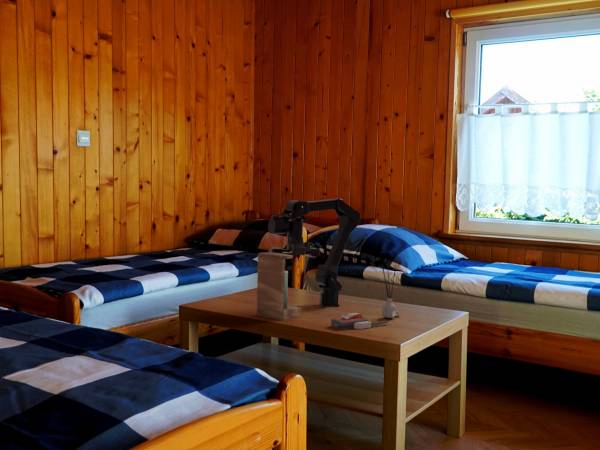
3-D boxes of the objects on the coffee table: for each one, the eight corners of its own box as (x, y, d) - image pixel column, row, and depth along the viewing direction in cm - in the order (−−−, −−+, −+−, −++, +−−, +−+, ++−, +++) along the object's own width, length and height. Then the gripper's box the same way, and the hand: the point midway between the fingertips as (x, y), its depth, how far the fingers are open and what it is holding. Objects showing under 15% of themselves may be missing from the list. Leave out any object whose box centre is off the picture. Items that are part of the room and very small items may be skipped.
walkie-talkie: (342, 333, 211) (389, 326, 222) (342, 319, 211) (389, 313, 222) (326, 327, 219) (373, 321, 229) (327, 314, 218) (373, 309, 229)
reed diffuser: (387, 321, 228) (388, 265, 227) (371, 317, 233) (373, 262, 231) (403, 317, 236) (405, 262, 234) (388, 314, 240) (390, 260, 239)
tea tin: (288, 306, 236) (289, 270, 235) (285, 308, 231) (286, 272, 230) (275, 305, 237) (275, 270, 236) (271, 308, 232) (272, 272, 231)
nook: (278, 310, 242) (279, 251, 240) (301, 315, 234) (303, 254, 232) (256, 314, 234) (257, 253, 232) (280, 320, 226) (282, 256, 224)
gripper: (275, 235, 234) (274, 278, 235) (325, 235, 239) (323, 277, 240) (269, 232, 245) (267, 273, 246) (316, 233, 250) (314, 273, 251)
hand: (293, 274), depth 245 cm, fingers open, 9 cm apart
